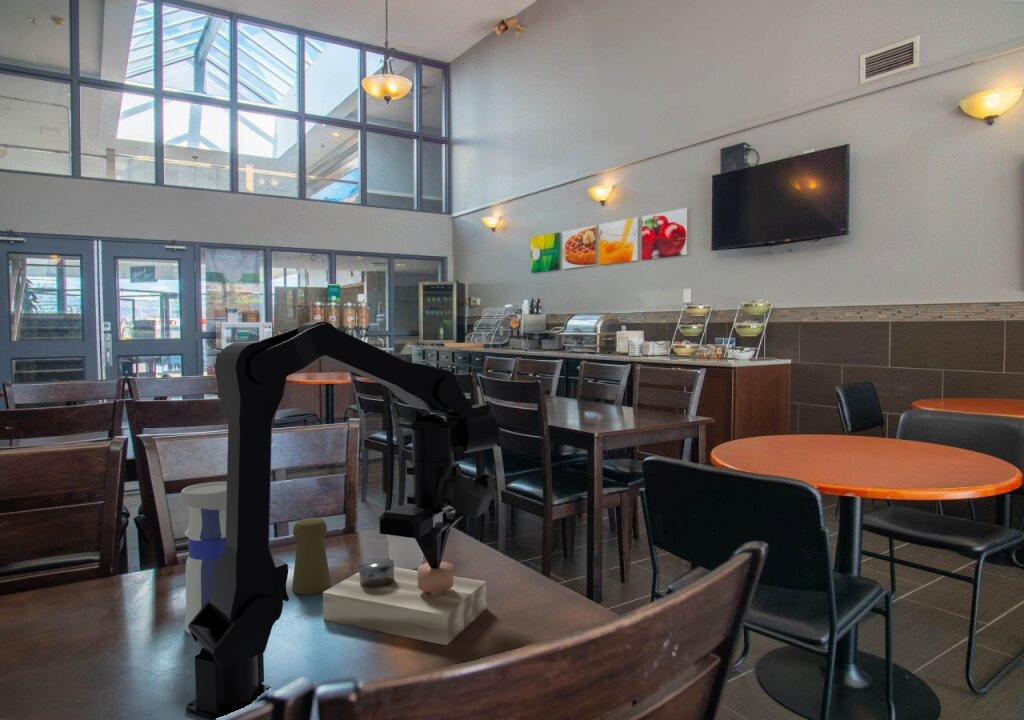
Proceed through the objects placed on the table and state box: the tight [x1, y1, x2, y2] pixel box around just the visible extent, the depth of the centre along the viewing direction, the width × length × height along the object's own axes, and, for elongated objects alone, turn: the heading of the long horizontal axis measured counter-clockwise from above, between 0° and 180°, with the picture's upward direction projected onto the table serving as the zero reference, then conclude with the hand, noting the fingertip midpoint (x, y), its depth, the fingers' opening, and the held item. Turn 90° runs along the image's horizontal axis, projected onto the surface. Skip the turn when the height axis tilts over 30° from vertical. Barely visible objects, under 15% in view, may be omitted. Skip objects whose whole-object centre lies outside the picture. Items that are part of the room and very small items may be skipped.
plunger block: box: [322, 567, 488, 646], centre depth 90 cm, size 12×20×4 cm, turn 67°
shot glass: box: [386, 535, 424, 570], centre depth 110 cm, size 7×7×7 cm
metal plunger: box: [358, 557, 394, 587], centre depth 92 cm, size 5×5×6 cm
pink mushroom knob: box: [417, 561, 454, 596], centre depth 88 cm, size 5×5×6 cm
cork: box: [291, 517, 332, 595], centre depth 101 cm, size 6×6×11 cm
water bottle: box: [179, 480, 227, 635], centre depth 88 cm, size 8×9×25 cm
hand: (435, 567), depth 88 cm, fingers closed, pressing on pink mushroom knob
